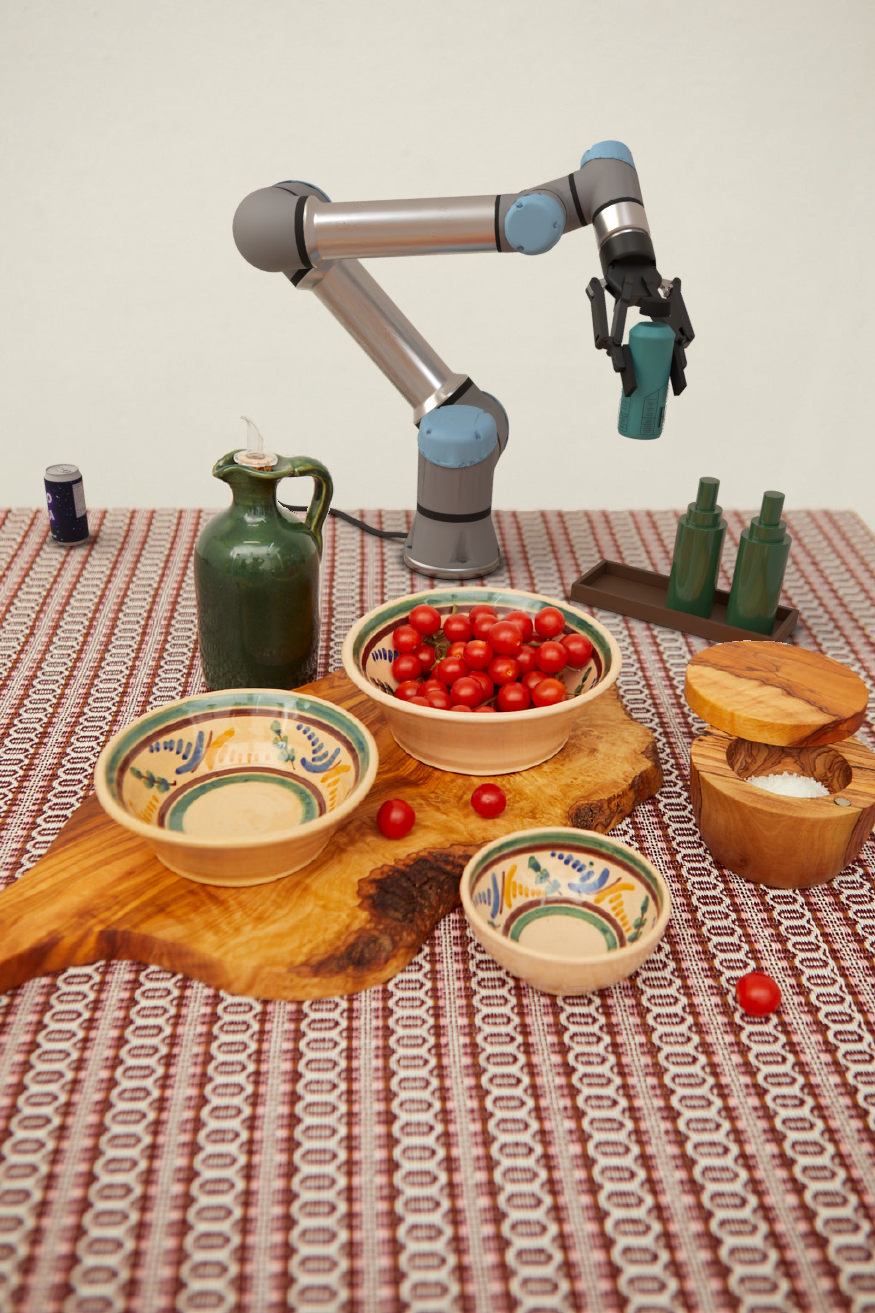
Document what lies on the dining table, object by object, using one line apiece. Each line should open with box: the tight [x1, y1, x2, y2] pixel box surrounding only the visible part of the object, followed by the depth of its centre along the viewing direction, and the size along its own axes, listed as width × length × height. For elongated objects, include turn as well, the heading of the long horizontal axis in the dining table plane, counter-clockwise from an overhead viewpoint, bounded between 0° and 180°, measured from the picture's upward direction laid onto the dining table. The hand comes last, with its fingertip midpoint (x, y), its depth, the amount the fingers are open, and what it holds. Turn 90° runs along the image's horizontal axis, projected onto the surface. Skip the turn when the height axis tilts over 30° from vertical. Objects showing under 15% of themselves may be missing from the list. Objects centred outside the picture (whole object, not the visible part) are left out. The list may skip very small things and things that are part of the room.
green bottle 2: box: [724, 490, 793, 636], centre depth 151 cm, size 7×7×20 cm
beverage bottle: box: [616, 296, 675, 441], centre depth 150 cm, size 6×7×20 cm
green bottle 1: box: [665, 476, 729, 619], centre depth 155 cm, size 7×7×20 cm
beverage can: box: [43, 463, 90, 547], centre depth 172 cm, size 6×6×12 cm
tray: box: [569, 558, 800, 644], centre depth 160 cm, size 31×12×3 cm, turn 58°
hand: (655, 391), depth 148 cm, fingers closed on beverage bottle, 6 cm apart
